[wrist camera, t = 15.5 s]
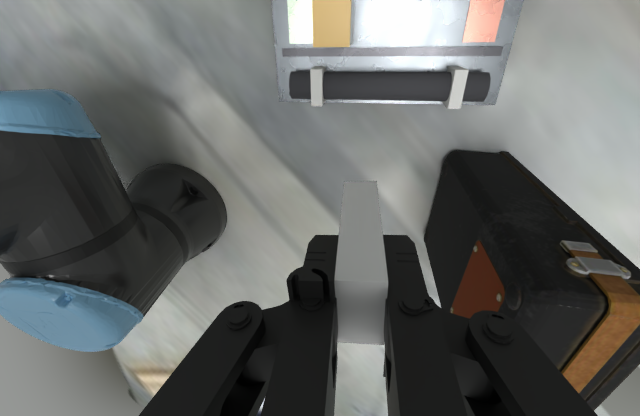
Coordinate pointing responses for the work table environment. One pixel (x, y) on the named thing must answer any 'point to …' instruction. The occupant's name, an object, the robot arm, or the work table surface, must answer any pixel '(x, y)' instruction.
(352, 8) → the yellow and grey block
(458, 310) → the voltmeter
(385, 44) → the panel
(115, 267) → the robot arm
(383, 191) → the work table surface
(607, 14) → the work table surface
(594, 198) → the work table surface
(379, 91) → the pair of dark rods
